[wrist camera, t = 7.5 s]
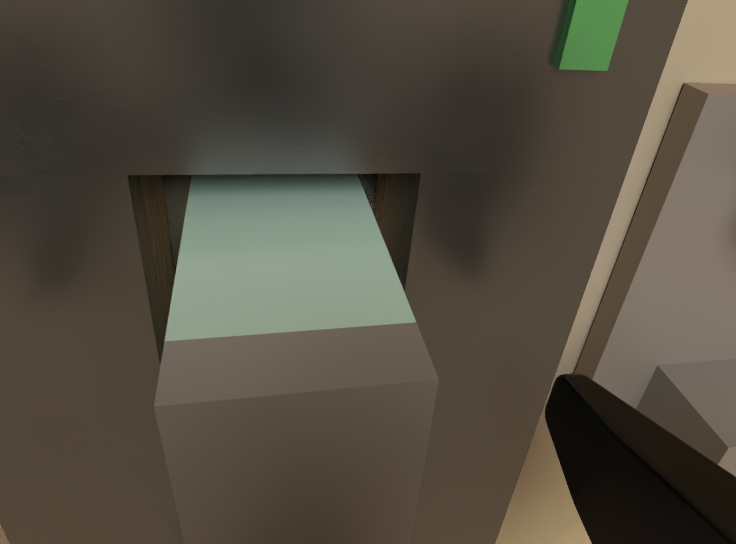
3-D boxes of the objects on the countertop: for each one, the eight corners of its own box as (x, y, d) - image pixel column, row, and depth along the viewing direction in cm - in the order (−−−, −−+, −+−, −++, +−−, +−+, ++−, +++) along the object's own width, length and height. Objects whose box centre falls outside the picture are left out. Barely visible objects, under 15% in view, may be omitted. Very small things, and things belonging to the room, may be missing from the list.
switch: (458, 470, 19) (492, 562, 17) (75, 513, 17) (45, 628, 14) (641, -235, 9) (799, -280, 7) (-239, -367, 7) (-527, -514, 4)
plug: (338, 326, 15) (399, 605, 9) (219, 335, 14) (206, 637, 9) (344, 142, 12) (439, 378, 6) (196, 144, 11) (153, 407, 6)
